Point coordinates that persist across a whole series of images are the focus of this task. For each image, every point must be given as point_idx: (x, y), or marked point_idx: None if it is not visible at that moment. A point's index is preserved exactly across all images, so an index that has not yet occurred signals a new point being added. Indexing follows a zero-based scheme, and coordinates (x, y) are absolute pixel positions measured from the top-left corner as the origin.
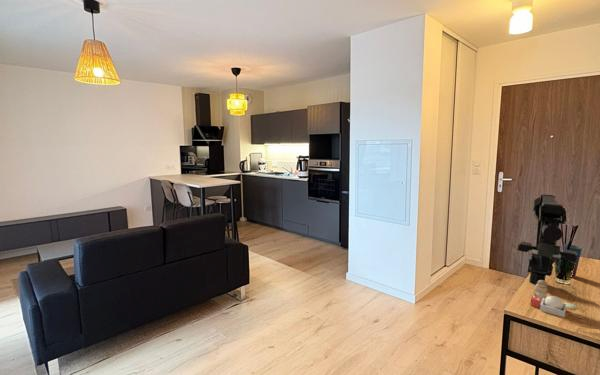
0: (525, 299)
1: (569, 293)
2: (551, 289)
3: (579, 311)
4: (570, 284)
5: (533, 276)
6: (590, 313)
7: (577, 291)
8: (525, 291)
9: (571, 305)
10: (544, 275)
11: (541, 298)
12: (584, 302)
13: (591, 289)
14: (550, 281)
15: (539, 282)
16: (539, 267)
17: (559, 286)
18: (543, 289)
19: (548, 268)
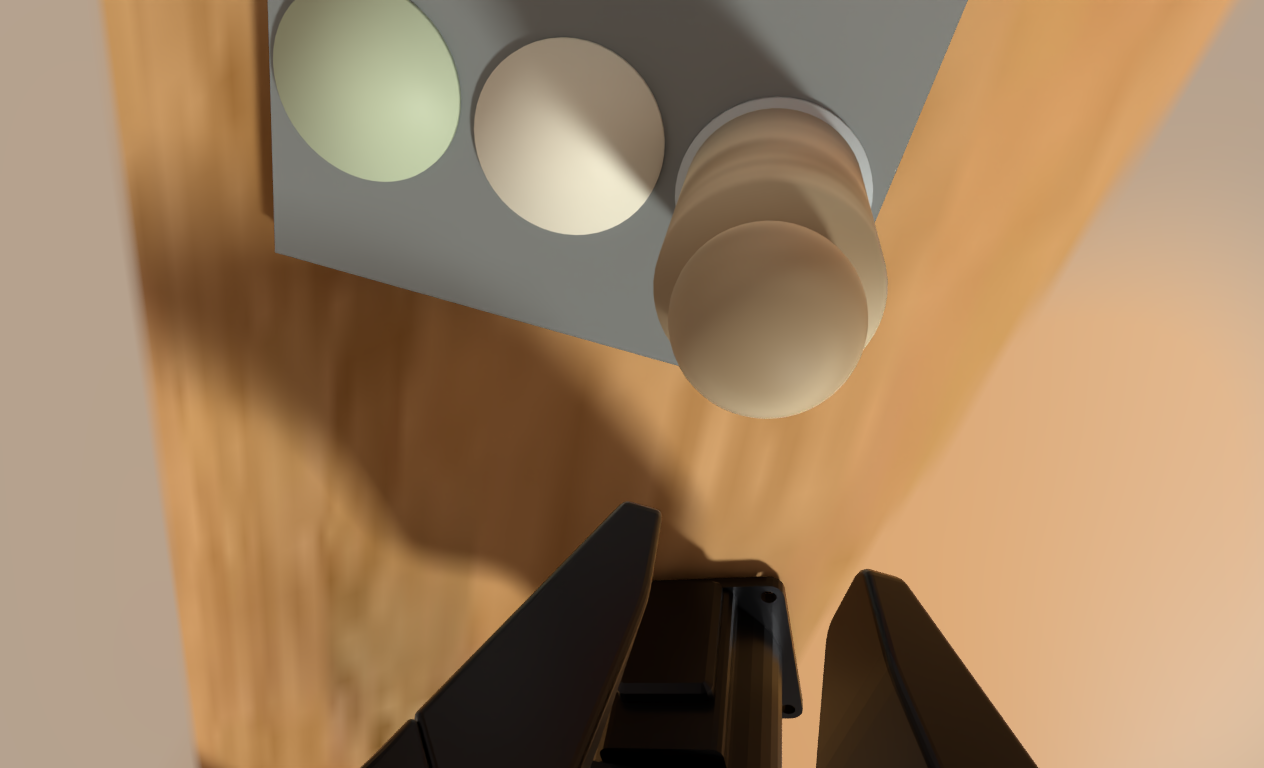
0: (1022, 94)
1: (379, 555)
2: None
3: None
4: (368, 744)
5: (753, 732)
6: (147, 40)
7: (311, 624)
8: (904, 423)
9: (346, 103)
10: (610, 751)
11: (771, 116)
12: (237, 380)
13: (209, 697)
14: None
15: (838, 294)
16: (941, 665)
17: None
18: (751, 175)
19: (598, 598)
